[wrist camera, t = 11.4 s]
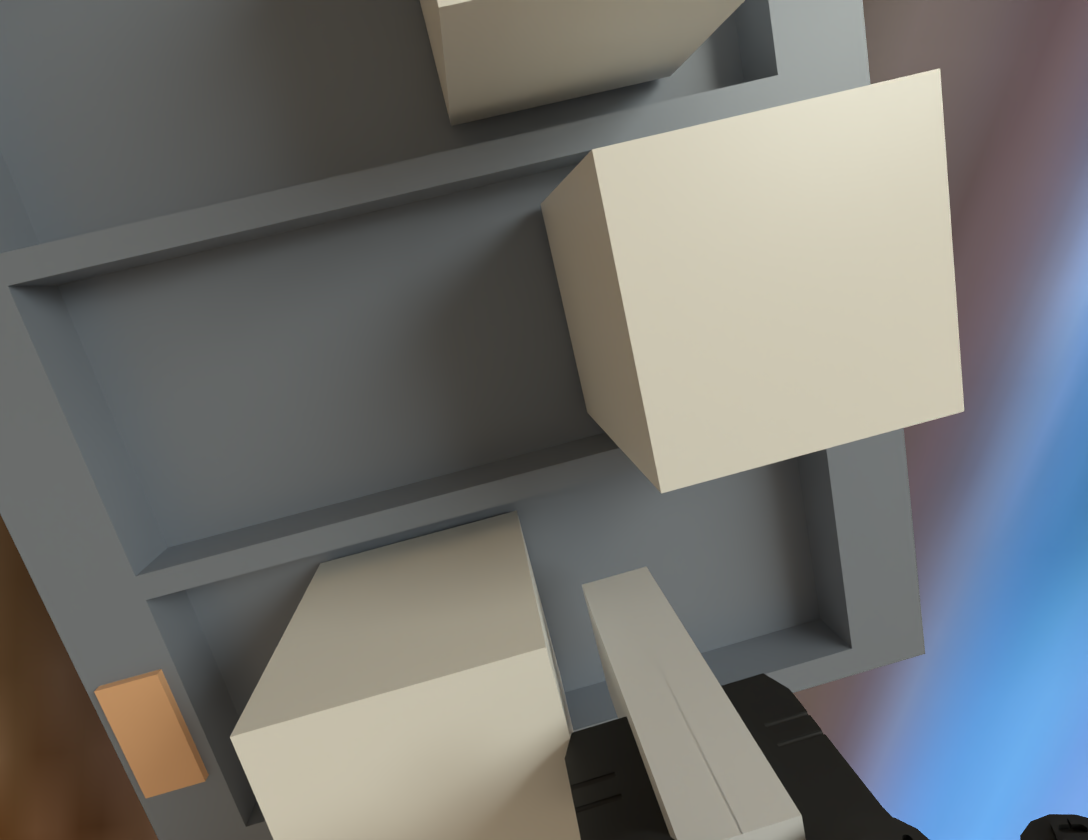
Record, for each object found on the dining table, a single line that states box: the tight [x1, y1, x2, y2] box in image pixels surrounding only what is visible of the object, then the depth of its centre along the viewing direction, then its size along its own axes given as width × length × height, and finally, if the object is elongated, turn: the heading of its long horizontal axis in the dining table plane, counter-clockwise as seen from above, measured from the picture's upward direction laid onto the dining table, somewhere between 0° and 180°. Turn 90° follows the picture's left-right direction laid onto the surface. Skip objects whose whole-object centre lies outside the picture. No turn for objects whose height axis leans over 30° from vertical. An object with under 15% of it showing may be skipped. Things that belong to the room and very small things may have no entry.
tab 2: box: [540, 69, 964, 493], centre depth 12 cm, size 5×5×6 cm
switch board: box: [0, 0, 925, 840], centre depth 15 cm, size 22×20×4 cm
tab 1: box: [230, 511, 581, 840], centre depth 13 cm, size 5×5×6 cm
